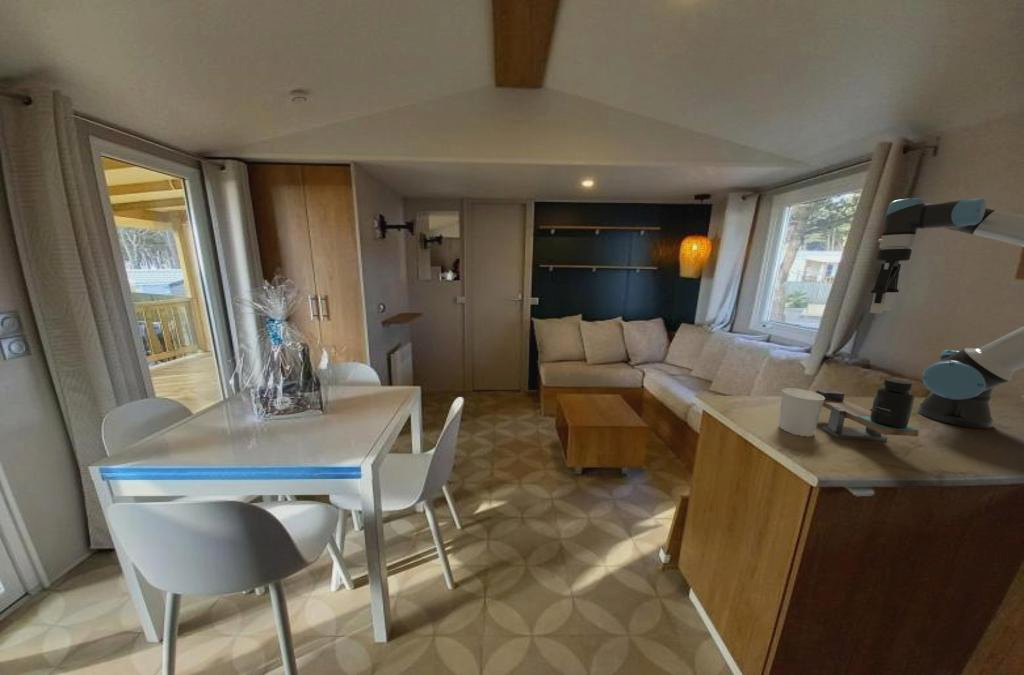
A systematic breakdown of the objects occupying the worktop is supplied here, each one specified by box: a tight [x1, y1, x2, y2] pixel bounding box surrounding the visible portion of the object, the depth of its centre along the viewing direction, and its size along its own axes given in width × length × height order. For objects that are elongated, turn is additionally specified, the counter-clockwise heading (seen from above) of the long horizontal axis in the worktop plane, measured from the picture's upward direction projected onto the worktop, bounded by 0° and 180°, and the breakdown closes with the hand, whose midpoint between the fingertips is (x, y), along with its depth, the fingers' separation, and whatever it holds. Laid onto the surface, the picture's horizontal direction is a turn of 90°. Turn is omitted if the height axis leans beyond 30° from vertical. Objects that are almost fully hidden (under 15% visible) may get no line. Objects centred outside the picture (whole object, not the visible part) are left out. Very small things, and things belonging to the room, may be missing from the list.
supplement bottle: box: [870, 378, 915, 428], centre depth 89 cm, size 7×7×12 cm
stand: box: [821, 407, 888, 442], centre depth 100 cm, size 13×6×8 cm, turn 83°
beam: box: [815, 389, 919, 437], centre depth 99 cm, size 9×25×5 cm, turn 173°
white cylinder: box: [778, 387, 825, 438], centre depth 102 cm, size 10×10×12 cm
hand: (880, 312), depth 115 cm, fingers open, 13 cm apart
